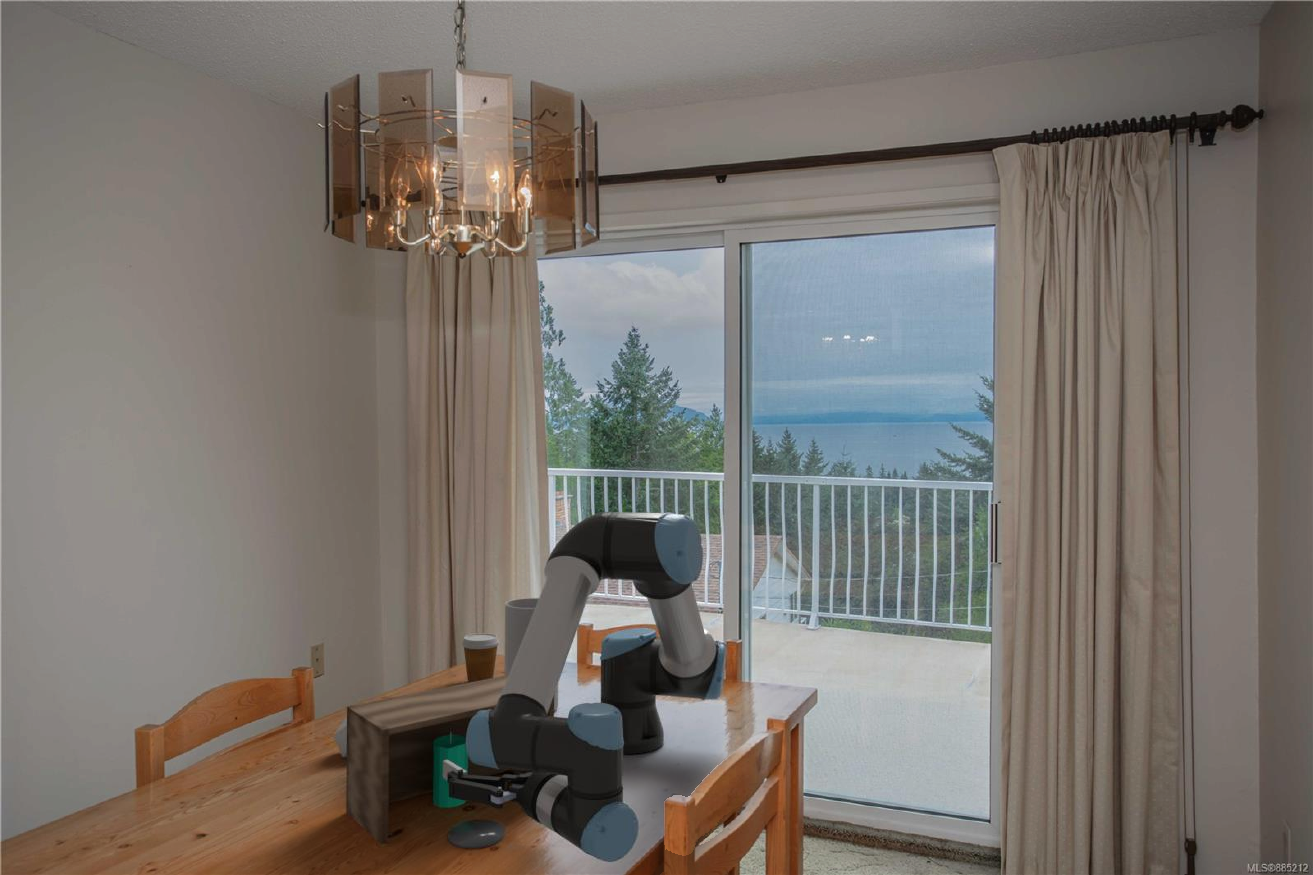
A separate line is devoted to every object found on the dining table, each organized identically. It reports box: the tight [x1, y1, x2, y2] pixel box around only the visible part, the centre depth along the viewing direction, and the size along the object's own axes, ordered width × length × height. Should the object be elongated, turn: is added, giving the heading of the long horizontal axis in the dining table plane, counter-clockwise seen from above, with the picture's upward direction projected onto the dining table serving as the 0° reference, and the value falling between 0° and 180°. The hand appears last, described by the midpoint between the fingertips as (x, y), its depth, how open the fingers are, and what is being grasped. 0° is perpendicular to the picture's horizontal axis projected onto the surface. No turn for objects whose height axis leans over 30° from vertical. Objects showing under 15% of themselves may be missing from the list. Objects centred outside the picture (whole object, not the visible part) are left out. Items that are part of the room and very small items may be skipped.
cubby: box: [345, 675, 555, 845], centre depth 152 cm, size 15×32×18 cm, turn 130°
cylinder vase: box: [504, 597, 559, 712], centre depth 204 cm, size 12×12×25 cm
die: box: [333, 715, 347, 758], centre depth 175 cm, size 8×9×10 cm
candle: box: [432, 732, 468, 808], centre depth 153 cm, size 6×6×12 cm
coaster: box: [447, 818, 506, 850], centre depth 140 cm, size 9×9×1 cm
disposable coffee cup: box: [461, 632, 500, 683], centre depth 226 cm, size 10×10×12 cm
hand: (483, 758), depth 143 cm, fingers open, 13 cm apart
